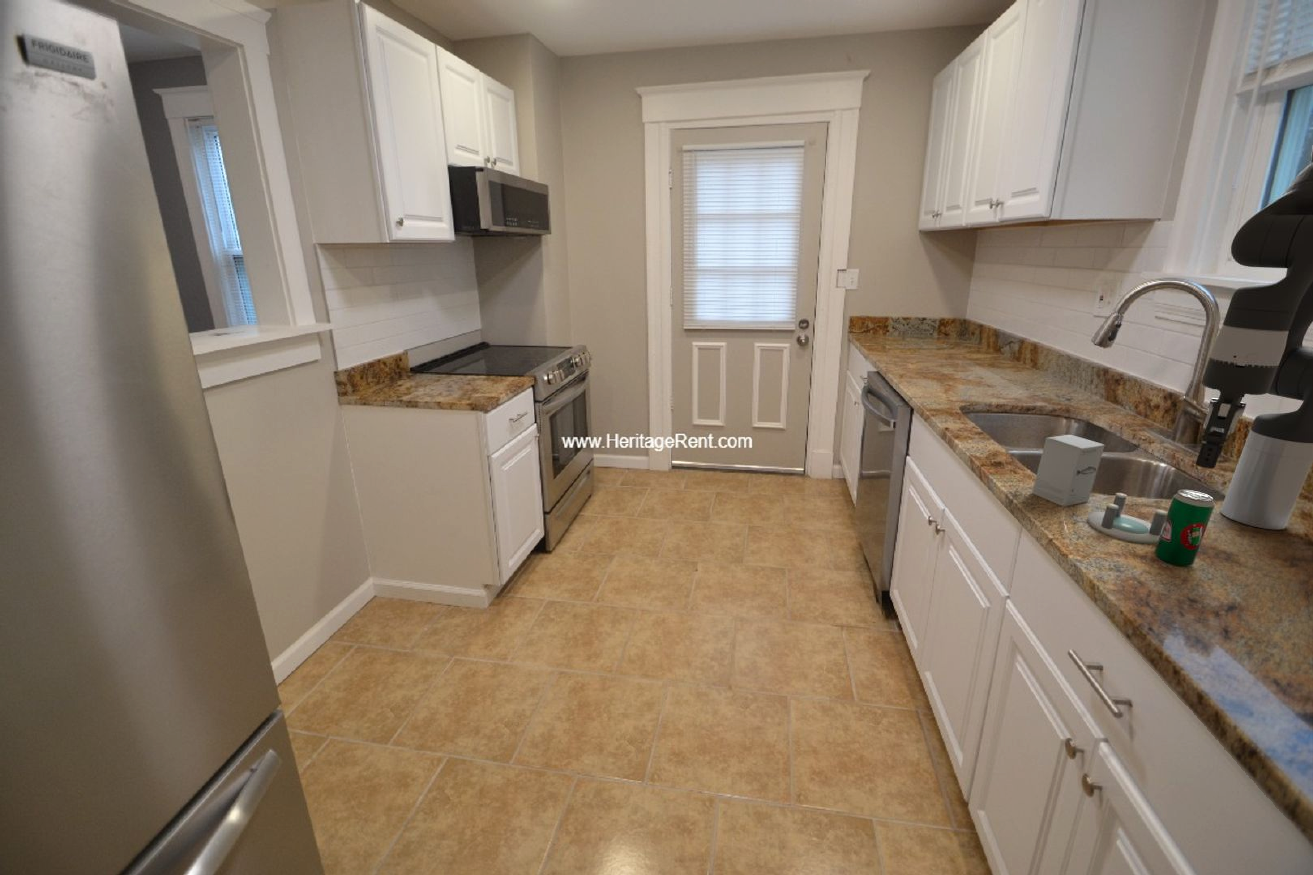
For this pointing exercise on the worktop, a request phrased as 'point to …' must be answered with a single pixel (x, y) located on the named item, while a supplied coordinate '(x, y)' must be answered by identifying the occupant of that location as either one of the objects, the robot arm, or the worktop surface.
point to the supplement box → (1067, 469)
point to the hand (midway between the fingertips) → (1207, 460)
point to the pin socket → (1127, 523)
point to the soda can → (1184, 528)
